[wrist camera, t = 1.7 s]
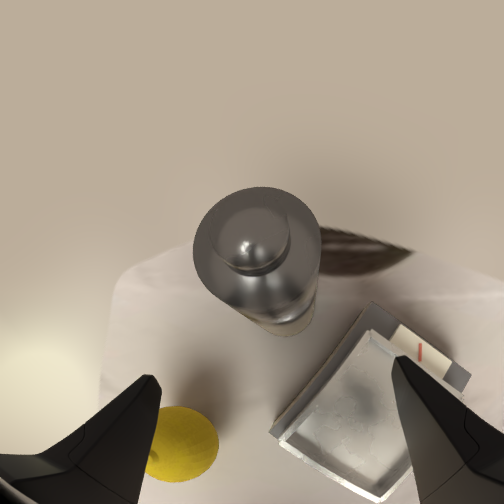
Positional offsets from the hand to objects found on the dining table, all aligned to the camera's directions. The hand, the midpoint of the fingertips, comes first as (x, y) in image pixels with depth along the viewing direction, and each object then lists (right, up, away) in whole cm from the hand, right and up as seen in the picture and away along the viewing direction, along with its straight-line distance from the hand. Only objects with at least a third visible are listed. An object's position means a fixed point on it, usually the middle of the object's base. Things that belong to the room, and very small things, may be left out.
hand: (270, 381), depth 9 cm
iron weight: (+2, 0, +12) cm, 12 cm away
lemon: (-5, -10, +10) cm, 15 cm away
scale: (+8, -7, +8) cm, 13 cm away
